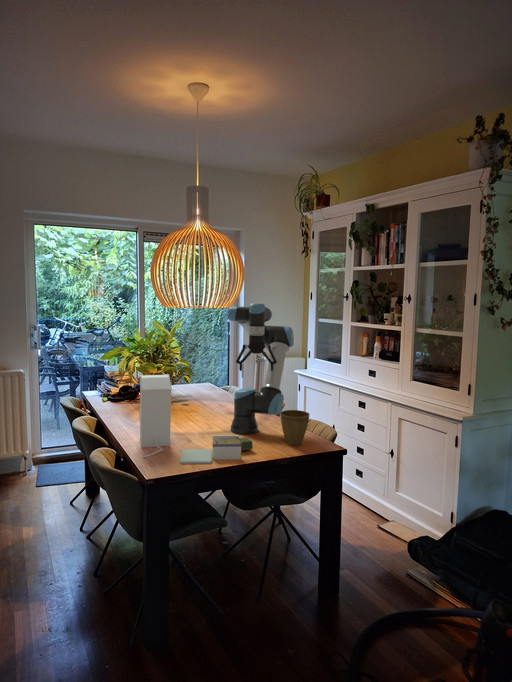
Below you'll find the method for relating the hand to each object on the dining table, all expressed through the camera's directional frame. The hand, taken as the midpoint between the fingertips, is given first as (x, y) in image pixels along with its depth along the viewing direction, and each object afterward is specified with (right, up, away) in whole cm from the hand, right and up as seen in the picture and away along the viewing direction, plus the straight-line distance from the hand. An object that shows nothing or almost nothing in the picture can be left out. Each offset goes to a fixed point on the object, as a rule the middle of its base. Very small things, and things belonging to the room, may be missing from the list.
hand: (256, 377), depth 248 cm
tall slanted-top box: (-50, -34, -2) cm, 60 cm away
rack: (-14, -35, -10) cm, 39 cm away
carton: (-16, -37, -10) cm, 42 cm away
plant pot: (+19, -35, +7) cm, 40 cm away
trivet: (-28, -36, -17) cm, 48 cm away
